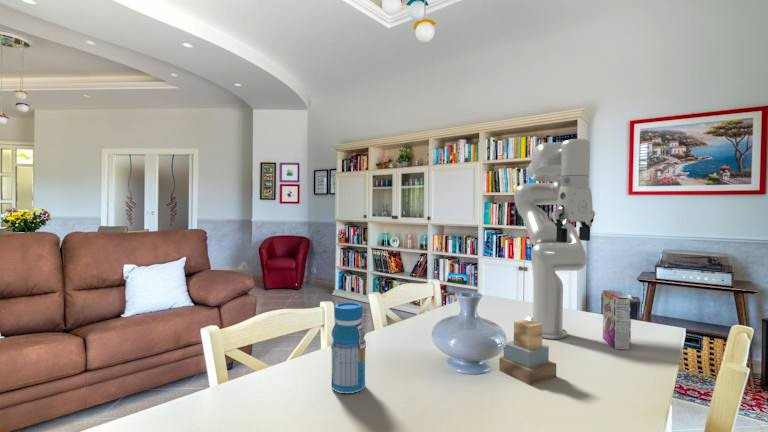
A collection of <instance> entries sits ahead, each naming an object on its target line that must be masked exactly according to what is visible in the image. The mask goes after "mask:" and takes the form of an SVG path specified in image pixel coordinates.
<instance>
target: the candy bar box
mask: <svg viewBox="0 0 768 432" xmlns="http://www.w3.org/2000/svg"><path fill="white" fill-rule="evenodd" d="M631 304H632V298H631V297H629V296H627V295H626V294H625V293H624V294H623V293H622V292H621V291H619V290H611V289H610V290H608V289H607V290H606V289H605V290H602V339H603V340H604V341H605V342H606V343H607V344H608V345H610V347H611V348H612V349H613V350H616V351H631V342H632V341H631V337H632V336H631V334H632V333H631V328H632V327H631V326H632V325H631V323H632V320H631V319H632V318H631V316H632V313H631V312H632V310H631V308H632V306H631Z"/></svg>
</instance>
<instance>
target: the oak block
mask: <svg viewBox="0 0 768 432" xmlns="http://www.w3.org/2000/svg"><path fill="white" fill-rule="evenodd" d="M542 333H543V324H541V323H537V322H534V321H531V320H528V319H527V320H526V319H522V320H517V321H513V341H514V345H517V346H519V347H522V348H524V349H527V350H532V349H536V348H540V347H542V345H543V338H542Z"/></svg>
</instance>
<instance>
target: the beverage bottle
mask: <svg viewBox="0 0 768 432" xmlns="http://www.w3.org/2000/svg"><path fill="white" fill-rule="evenodd" d="M363 310H364V309H363V305H362V304H361V303H358V302H352V301H351V302H350V301H349V302H339V303H337V304H335V306H334V320H335V321H336V322H335V324H334V325H333V327H332V329H331V337H332V340H331V342H330V349H331V351H330V352H331V388H332V390H333V391H334V390H335V391H338V392H341V393H354V392H357V393H359V392H358V391H360V390H361V391H363V390H364V389H365V386H366V347H367V342H366V339H365V336H366V330H365V326H364V325H363V323H362V322H361V321H362V319H363ZM363 388H364V389H363ZM362 389H363V390H362ZM335 391H334V392H335ZM361 391H360V392H361ZM338 392H337V393H338ZM341 393H340V394H341ZM354 394H355V393H354Z"/></svg>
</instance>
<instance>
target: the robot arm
mask: <svg viewBox="0 0 768 432" xmlns="http://www.w3.org/2000/svg"><path fill="white" fill-rule="evenodd" d="M530 156H531V157H530V158H531V159H530V161H531V162H530V163H529V165H528V167H527V175H528V177H529V178H530V179H531V180H533V181H534V182H529V183H528V182H527V183H522V184H520V185H518V186H517V187H516V188H515V189H514V194H513V195H514V203H515V208H516V210H517V212H518V214H519V216H520V217H521V218H522V220H523V221H524V224H525V228H526V231H527V234H528V237H529V240H530V243H531V245H533V246H532V248H531V249H530V250H531V251H530V260H531V264H532V274H533V275H532V276H533V280H532V281H533V285H532V288H533V293H532V294H533V295H532V296H533V298H532V299H533V300H532V301H533V302H532V303H533V304H532V309H533V310H532V312H533V313H532V315H528V316H527V318H525V320H527V319H528V320H531V321H534V322H537V323H541V324H543V333H542V339H550V340H557V339H558V340H559V339H564V338H565V339H566V338H567V337H568V331H567V330H565V329H564V328H563V326H564V325H563V323H564V321H563V320H564V319H563V315H564V314H563V313H564V312H563V310H564V284H563V281H562V279H561V278H560V276H558V275H557V273H556V271H557V272H559V271H563V272H564V271H567V272H568V271H569V272H570V271H571V272H572V271H573V272H575V271H580V270H583V269H584V268H585V266H586V264H587V255H586V251H585V250H586V249H584V245H583V243H582V241H587V242H588V241H591V228H592V225H593V224H592V223H594V219H595V216H596V211H594V209H593V195H592V190H591V187H590V168H591V167H590V162H591V161H590V160H591V142H590V141H589V140H588V139H586V138H571V139H567V140H564V141H562V142H561V141H560V142H556V141H555V142H553V141H552V142H543V143H540V144H538V145H537V146H536V147H534V149H533V150H532V152H531V155H530ZM537 205H540V206H545V205H548V206H549V205H551V206H552V205H553V206H554V205H557V207H556V209H555V210H553V211H552V212H551V214H550V215H551V218H552V221H551V220H549V217H548V214H547V213H546V212H545V211H544V210H543V209H542V208H540V207H539V206H537ZM570 222H573V223H574V222H575V223H579V225H580V226H579V229H578V231H579V232H578V231H577V229H576V228H575V226H574V225H573V224H571V223H570Z"/></svg>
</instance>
